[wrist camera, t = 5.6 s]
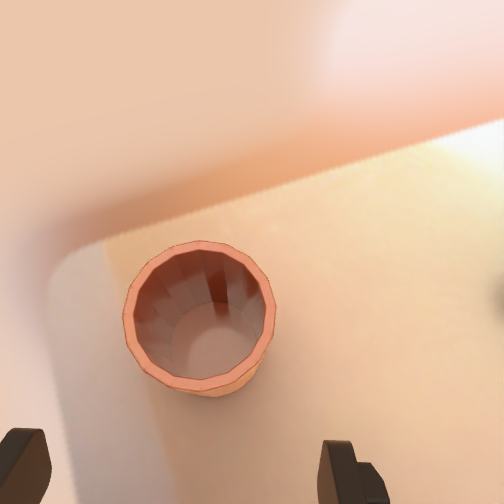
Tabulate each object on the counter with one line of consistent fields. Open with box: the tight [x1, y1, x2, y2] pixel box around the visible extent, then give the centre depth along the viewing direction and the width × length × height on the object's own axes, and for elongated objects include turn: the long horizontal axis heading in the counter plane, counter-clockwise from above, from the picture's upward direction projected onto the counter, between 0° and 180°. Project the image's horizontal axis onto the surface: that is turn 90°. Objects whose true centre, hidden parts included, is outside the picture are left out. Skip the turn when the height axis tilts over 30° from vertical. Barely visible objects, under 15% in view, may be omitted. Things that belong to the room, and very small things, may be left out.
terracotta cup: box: [122, 241, 276, 397], centre depth 18 cm, size 5×5×8 cm
